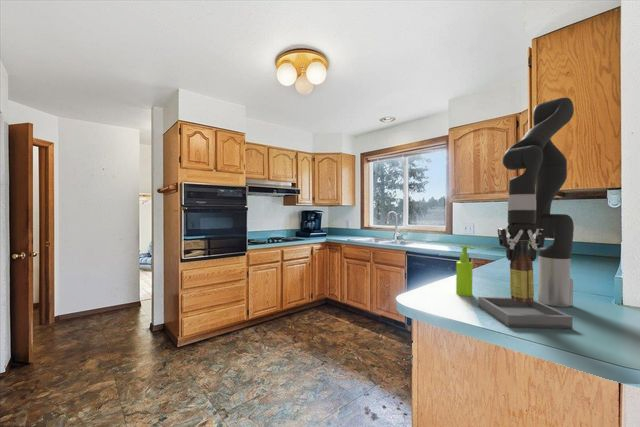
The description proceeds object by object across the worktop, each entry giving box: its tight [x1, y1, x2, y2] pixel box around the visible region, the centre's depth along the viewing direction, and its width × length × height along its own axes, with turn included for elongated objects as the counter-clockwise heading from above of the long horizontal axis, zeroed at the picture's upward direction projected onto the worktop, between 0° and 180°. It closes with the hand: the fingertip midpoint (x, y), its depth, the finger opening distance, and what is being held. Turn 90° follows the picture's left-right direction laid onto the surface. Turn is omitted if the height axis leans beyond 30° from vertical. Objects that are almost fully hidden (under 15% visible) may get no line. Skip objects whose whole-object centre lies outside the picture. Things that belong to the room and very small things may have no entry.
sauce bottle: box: [509, 240, 535, 303], centre depth 92 cm, size 7×6×20 cm
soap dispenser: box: [455, 245, 476, 297], centre depth 117 cm, size 6×7×20 cm
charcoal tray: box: [477, 296, 573, 330], centre depth 92 cm, size 18×18×4 cm
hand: (521, 260), depth 92 cm, fingers closed on sauce bottle, 6 cm apart
